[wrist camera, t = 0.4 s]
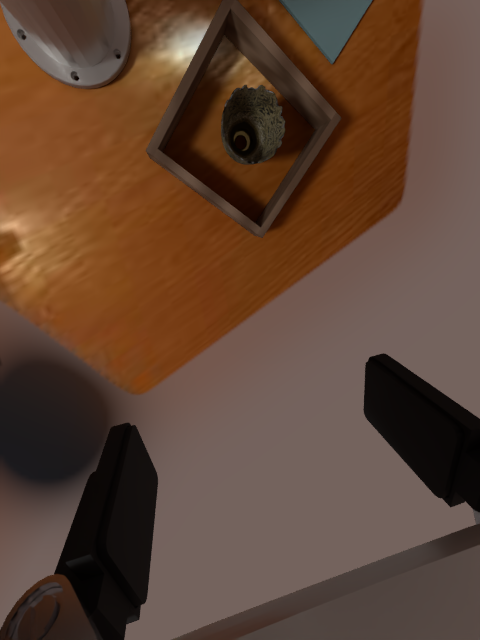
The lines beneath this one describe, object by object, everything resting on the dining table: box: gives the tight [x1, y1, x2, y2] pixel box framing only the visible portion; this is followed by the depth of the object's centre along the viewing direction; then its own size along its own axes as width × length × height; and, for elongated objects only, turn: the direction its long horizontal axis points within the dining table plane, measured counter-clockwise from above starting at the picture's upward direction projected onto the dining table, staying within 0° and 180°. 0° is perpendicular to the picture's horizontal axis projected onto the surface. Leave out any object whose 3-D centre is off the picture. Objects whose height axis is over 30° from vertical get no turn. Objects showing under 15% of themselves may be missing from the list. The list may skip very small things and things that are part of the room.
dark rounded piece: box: [221, 85, 285, 164], centre depth 33 cm, size 8×7×8 cm
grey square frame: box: [146, 0, 341, 238], centre depth 34 cm, size 18×18×4 cm
